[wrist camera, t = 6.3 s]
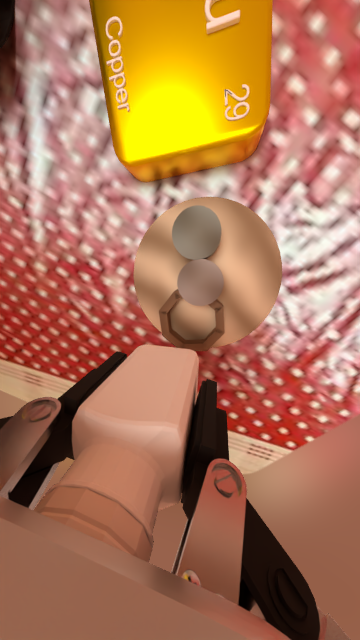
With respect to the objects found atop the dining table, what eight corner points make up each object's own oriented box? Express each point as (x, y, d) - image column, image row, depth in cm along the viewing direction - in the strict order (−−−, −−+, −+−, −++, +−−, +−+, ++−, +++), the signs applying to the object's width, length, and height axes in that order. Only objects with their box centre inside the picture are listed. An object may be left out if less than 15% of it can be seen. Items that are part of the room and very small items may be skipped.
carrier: (209, 364, 28) (207, 385, 23) (117, 288, 27) (96, 293, 22) (310, 269, 22) (336, 270, 17) (194, 167, 21) (188, 139, 16)
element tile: (109, 22, 19) (76, -52, 15) (262, -45, 16) (279, -166, 12) (133, 186, 23) (113, 167, 19) (259, 159, 20) (271, 128, 16)
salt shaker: (200, 346, 11) (132, 662, 2) (197, 400, 12) (142, 750, 3) (139, 339, 12) (-95, 561, 3) (141, 391, 13) (-23, 661, 4)
